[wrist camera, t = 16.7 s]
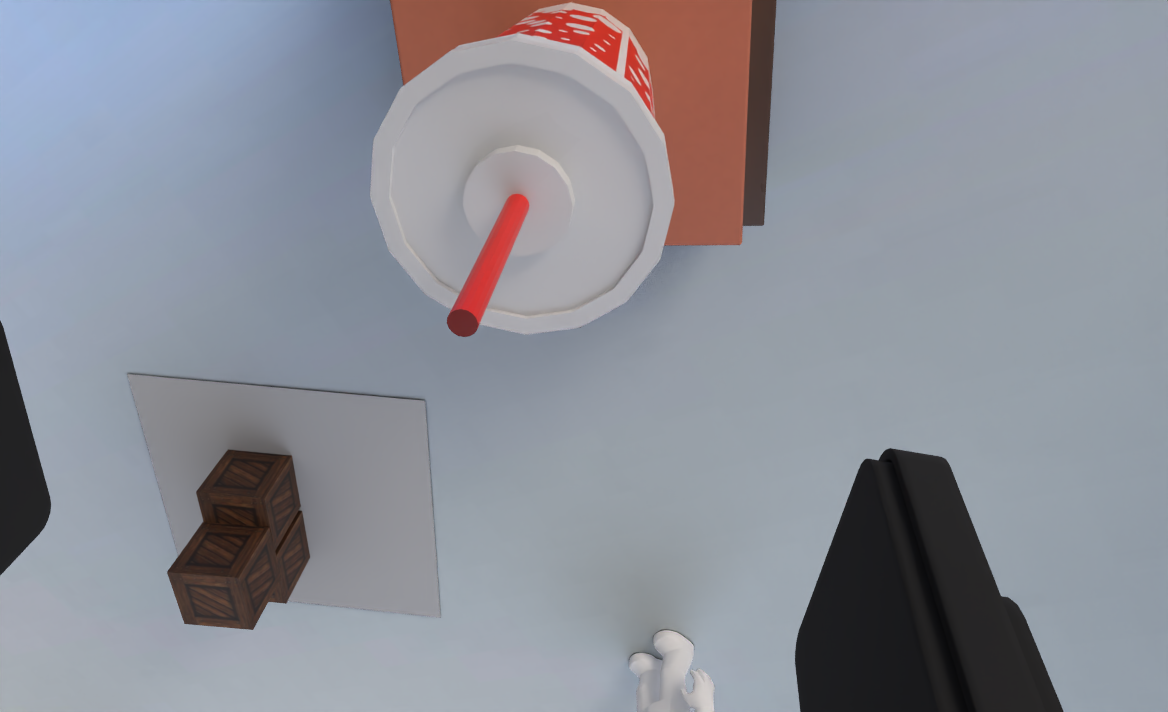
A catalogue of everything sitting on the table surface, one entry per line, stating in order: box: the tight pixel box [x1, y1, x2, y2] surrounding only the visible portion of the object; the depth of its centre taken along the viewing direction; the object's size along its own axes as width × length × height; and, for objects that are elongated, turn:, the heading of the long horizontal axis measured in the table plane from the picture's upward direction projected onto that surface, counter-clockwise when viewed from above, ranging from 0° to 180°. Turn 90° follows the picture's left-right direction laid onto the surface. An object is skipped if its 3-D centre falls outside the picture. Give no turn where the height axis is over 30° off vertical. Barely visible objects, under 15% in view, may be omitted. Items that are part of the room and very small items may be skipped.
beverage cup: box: [370, 2, 674, 337], centre depth 19 cm, size 6×6×14 cm
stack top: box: [390, 0, 752, 245], centre depth 26 cm, size 10×10×4 cm
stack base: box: [743, 0, 776, 226], centre depth 30 cm, size 12×12×4 cm
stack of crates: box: [127, 374, 441, 630], centre depth 43 cm, size 15×15×7 cm
